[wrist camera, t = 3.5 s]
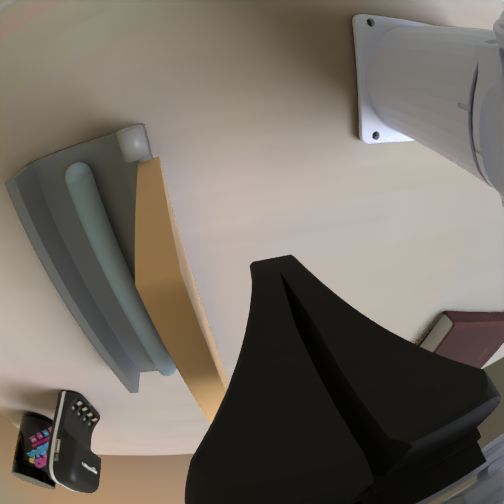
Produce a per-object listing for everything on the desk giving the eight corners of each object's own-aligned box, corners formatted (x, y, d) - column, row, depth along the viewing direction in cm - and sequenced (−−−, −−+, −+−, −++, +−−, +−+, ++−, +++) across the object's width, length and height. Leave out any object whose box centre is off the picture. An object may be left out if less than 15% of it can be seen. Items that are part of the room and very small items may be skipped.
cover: (138, 162, 13) (159, 156, 13) (214, 379, 23) (226, 375, 24) (135, 285, 6) (180, 272, 6) (249, 480, 16) (263, 475, 17)
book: (443, 305, 29) (458, 326, 27) (510, 308, 35) (522, 323, 32) (387, 375, 36) (396, 394, 33) (465, 363, 41) (474, 377, 38)
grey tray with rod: (153, 113, 15) (139, 127, 12) (222, 357, 27) (226, 394, 24) (26, 156, 15) (-7, 181, 11) (135, 369, 27) (131, 403, 24)
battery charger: (108, 416, 32) (103, 498, 23) (83, 415, 32) (75, 494, 23) (84, 389, 28) (72, 483, 19) (57, 388, 28) (42, 476, 19)
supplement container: (66, 434, 36) (60, 492, 27) (29, 424, 34) (20, 479, 25) (58, 417, 32) (48, 483, 24) (17, 406, 31) (4, 467, 22)
